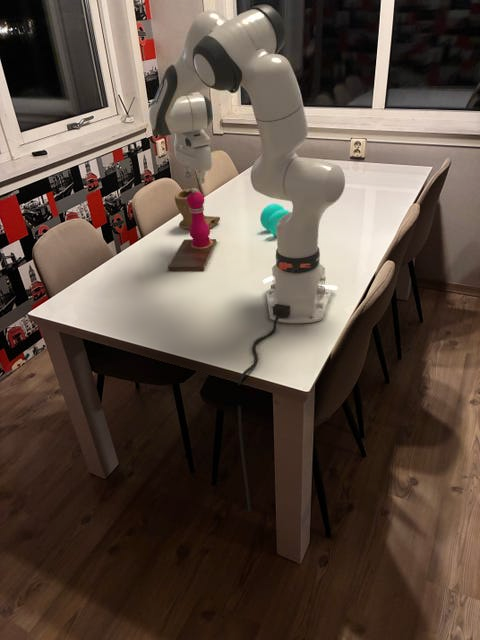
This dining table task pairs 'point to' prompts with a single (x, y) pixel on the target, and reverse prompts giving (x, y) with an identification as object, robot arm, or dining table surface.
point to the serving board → (191, 256)
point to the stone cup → (185, 211)
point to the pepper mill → (198, 220)
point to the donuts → (272, 217)
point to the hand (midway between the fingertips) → (195, 179)
